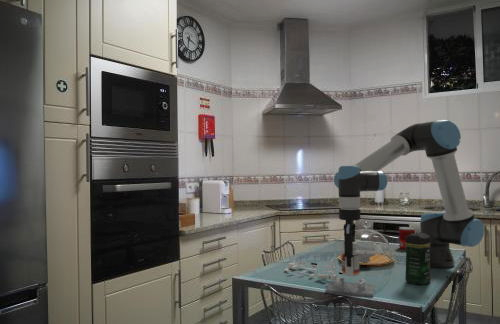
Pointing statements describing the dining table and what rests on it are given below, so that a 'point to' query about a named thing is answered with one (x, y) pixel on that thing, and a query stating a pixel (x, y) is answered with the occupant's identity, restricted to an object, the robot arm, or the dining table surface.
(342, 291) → the grey knobbed plate
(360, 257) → the showerhead
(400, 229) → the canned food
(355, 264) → the pill bottle
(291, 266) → the miniature set
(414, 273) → the coffee jar
